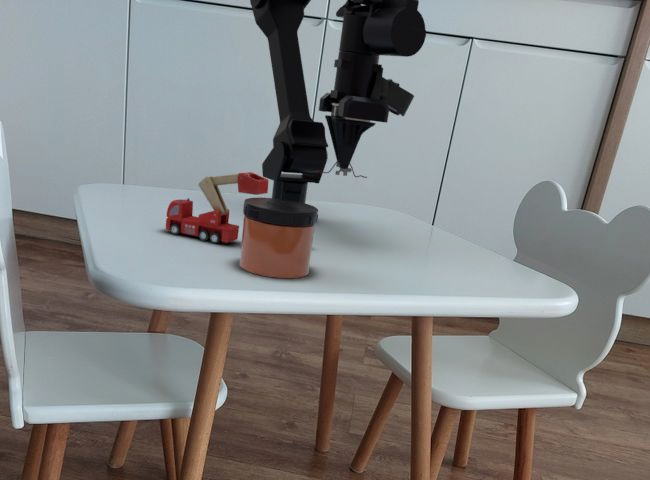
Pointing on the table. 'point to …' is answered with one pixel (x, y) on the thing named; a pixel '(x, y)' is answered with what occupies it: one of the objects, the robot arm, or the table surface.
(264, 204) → the jar lid
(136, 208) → the table surface
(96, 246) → the table surface
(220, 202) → the toy fire truck
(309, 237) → the jar
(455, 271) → the table surface
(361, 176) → the pendant
